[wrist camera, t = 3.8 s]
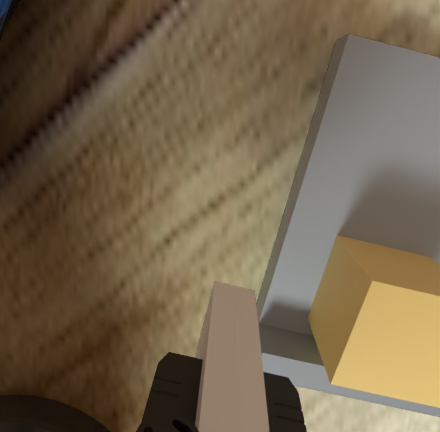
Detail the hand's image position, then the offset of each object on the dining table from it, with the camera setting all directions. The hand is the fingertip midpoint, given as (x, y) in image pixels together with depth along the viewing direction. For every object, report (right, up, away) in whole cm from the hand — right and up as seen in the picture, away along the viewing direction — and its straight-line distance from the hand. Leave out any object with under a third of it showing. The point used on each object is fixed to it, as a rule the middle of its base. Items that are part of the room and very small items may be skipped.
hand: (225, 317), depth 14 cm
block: (+8, 0, +6) cm, 10 cm away
